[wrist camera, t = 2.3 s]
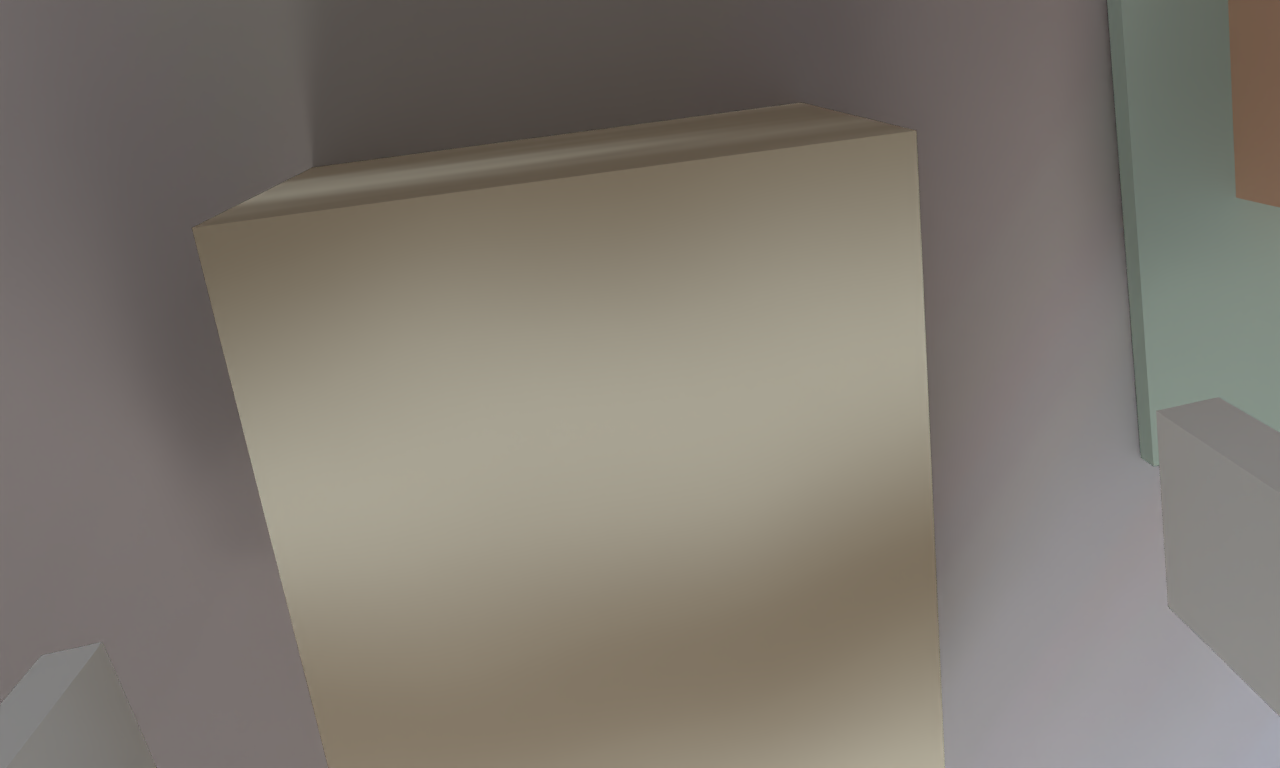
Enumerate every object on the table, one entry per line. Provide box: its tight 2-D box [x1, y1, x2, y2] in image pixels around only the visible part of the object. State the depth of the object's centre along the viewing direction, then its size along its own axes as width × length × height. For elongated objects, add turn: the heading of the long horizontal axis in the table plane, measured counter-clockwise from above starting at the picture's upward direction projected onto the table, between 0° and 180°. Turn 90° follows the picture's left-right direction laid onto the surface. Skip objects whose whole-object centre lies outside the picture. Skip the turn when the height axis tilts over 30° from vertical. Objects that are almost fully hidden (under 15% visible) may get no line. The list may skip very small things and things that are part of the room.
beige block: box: [192, 103, 945, 768], centre depth 15 cm, size 12×7×6 cm, turn 7°
